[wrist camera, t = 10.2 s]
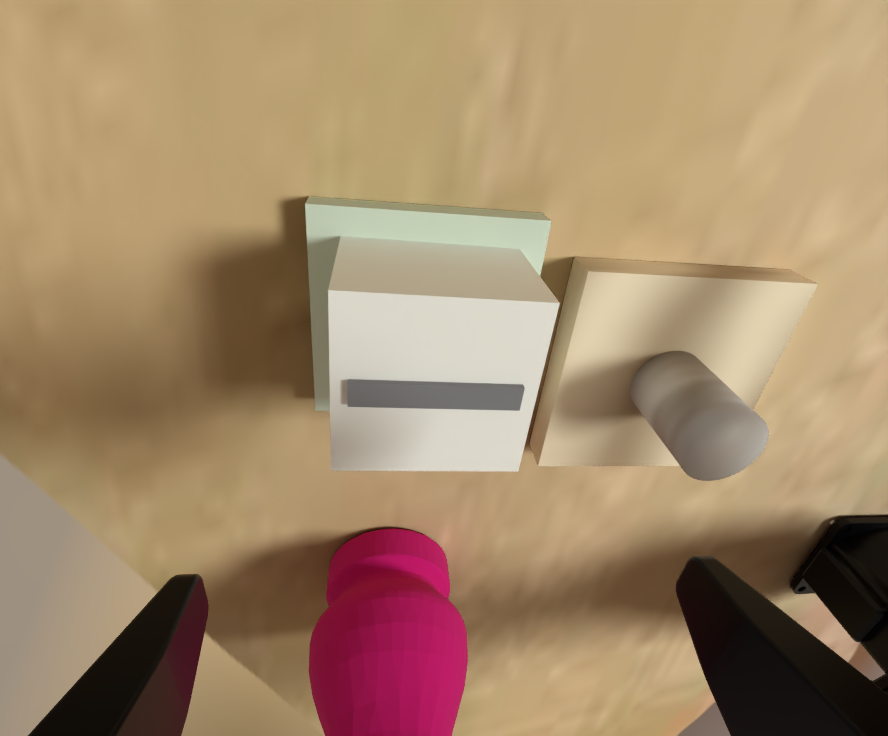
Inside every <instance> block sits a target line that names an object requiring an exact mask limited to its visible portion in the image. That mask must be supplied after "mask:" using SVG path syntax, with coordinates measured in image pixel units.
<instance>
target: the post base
mask: <svg viewBox="0 0 888 736" xmlns="http://www.w3.org/2000/svg"><path fill="white" fill-rule="evenodd" d="M817 286H818V284H817V283H815V282H814V281H812V280H810V279H808V278H806V277H804V276H802V275H800V274H798V273H796V272H794V271H792V270H788V269H771V268H755V267H738V266H721V265H704V264H687V263H670V262H653V261H636V260H619V259H602V258H586V257H574V259H573V264H572V268H571V272H570V276H569V280H568V285H567V289H566V293H565V297H564V301H563V305H562V310H561V314H560V318H559V322H558V326H557V331H556V335H555V339H554V343H553V347H552V352H551V356H550V360H549V364H548V368H547V373H546V377H545V381H544V385H543V389H542V393H541V398H540V402H539V406H538V410H537V414H536V419H535V423H534V427H533V431H532V435H531V440H530V447H531V449H532V452H533V454H534V457H535V460H536V462H537V465H538V466H681V468H682V469H683V470H684V472H685V473H686V474H687V475H689V476H690V477H692V478H694V479H697V480H703V481H712V480H719V479H723V478H726V477H729V476H731V475H734V474H736V473H738V472H740V471H741V470H743V469H745V468H746V467H747V466H749V465H750V464H751V463H752V462H754V461H755V460H756V459H757V457H758V456H759V455H760V454H761V453H762V451H763V449H764V448H765V446H766V444H767V441H768V436H769V430H768V426H767V424H766V422H765V421H764V420H763V419H762V418H761V417H760V416H759V415H758V414H757V413H756V412H755V411H753V409H754V407H755V405H756V403H757V402H758V400H759V398H760V396H761V394H762V392H763V390H764V388H765V386H766V384H767V382H768V380H769V378H770V376H771V375H772V373H773V371H774V369H775V367H776V365H777V363H778V361H779V359H780V357H781V355H782V353H783V351H784V349H785V348H786V346H787V344H788V342H789V340H790V338H791V336H792V334H793V332H794V330H795V328H796V326H797V324H798V322H799V320H800V319H801V317H802V315H803V313H804V311H805V309H806V307H807V305H808V303H809V301H810V299H811V297H812V295H813V293H814V292H815V290H816V288H817Z"/></svg>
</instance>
